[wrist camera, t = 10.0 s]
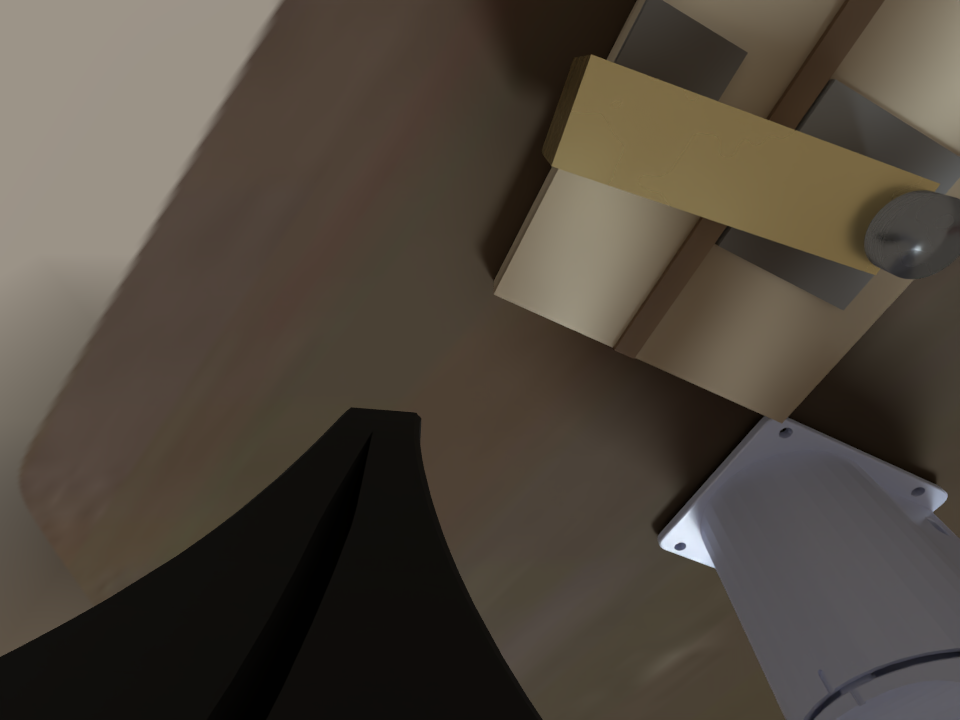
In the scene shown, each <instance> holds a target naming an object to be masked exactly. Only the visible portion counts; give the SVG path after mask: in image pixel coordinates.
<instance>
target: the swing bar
mask: <svg viewBox="0 0 960 720" xmlns="http://www.w3.org/2000/svg"><path fill="white" fill-rule="evenodd" d="M541 153H542V154H543V155H544V157H545V158H546V160H547V161H548V162H549V164H550V165H551V166H552V167H555V168H558V169H561V170H564V171H567V172H570V173H573V174H576V175H579V176H582V177H585V178H588V179H591V180H593V181H596V182H599V183H602V184H605V185H608V186H611V187H614V188H617V189H620V190H623V191H626V192H629V193H632V194H635V195H638V196H641V197H644V198H647V199H650V200H653V201H656V202H659V203H662V204H665V205H668V206H671V207H674V208H677V209H680V210H683V211H686V212H689V213H692V214H695V215H698V216H701V217H704V218H706V219H709V220H712V221H715V222H718V223H721V224H724V225H727V226H730V227H733V228H736V229H739V230H742V231H745V232H748V233H751V234H754V235H757V236H760V237H763V238H766V239H769V240H772V241H775V242H778V243H781V244H784V245H787V246H790V247H793V248H796V249H799V250H802V251H805V252H808V253H811V254H814V255H817V256H819V257H822V258H825V259H828V260H831V261H834V262H837V263H840V264H843V265H846V266H849V267H852V268H855V269H858V270H861V271H864V272H867V273H870V274H873V275H876V274H877V273H878V272H879V270H880V269H883V270H885V271H887V272H889V273H891V274H893V275H895V276H897V277H899V278H903V279H920V278H924V277H928V276H930V275H933V274H935V273H937V272H939V271H941V270H943V269H944V268H946V267H947V266H948V265H950V264H951V263H952V262H953V261H954V260H955V259H956V258H957V257H958V256H959V255H960V199H959V198H956V197H952V196H948V195H944V194H940V193H937V192H935V191H936V189H937V188H938V187H939V185H940V183H937V182H934V181H931V180H929V179H926V178H923V177H921V176H918V175H915V174H913V173H910V172H907V171H905V170H902V169H899V168H896V167H894V166H891V165H888V164H886V163H883V162H880V161H878V160H875V159H872V158H869V157H867V156H864V155H861V154H859V153H856V152H853V151H851V150H848V149H845V148H842V147H840V146H837V145H834V144H832V143H829V142H826V141H824V140H821V139H818V138H815V137H813V136H810V135H807V134H805V133H802V132H799V131H797V130H794V129H791V128H788V127H786V126H783V125H780V124H778V123H775V122H772V121H770V120H767V119H764V118H762V117H759V116H756V115H753V114H751V113H748V112H745V111H743V110H740V109H737V108H735V107H732V106H729V105H726V104H724V103H721V102H718V101H716V100H713V99H710V98H708V97H705V96H702V95H699V94H697V93H694V92H691V91H689V90H686V89H683V88H681V87H678V86H675V85H672V84H670V83H667V82H664V81H662V80H659V79H656V78H654V77H651V76H648V75H646V74H643V73H640V72H637V71H635V70H632V69H629V68H627V67H624V66H621V65H619V64H616V63H613V62H610V61H608V60H605V59H602V58H600V57H597V56H594V55H592V54H591V55H586V56H581V57H576V58H573V61H572V64H571V67H570V70H569V73H568V76H567V79H566V82H565V85H564V87H563V90H562V93H561V96H560V99H559V102H558V105H557V108H556V111H555V114H554V117H553V119H552V122H551V125H550V128H549V131H548V134H547V137H546V140H545V143H544V146H543V148H542V151H541Z"/></svg>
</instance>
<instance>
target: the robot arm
mask: <svg viewBox="0 0 960 720" xmlns="http://www.w3.org/2000/svg"><path fill="white" fill-rule="evenodd" d="M783 428H787V429H786V430H785V431H783V432H780V431H781V430H782V429H783ZM420 435H421V418H420V417H419V416H418V415H417V413H413V412H401V411H389V410H376V409H364V408H352V407H351V408H350V409H349V410H347V411H346V412H345V413H344V414H343V415H342V416H341V417H340V418H339V419H338V420H337V421H336V422H335V423H334V424H333V425H332V426H331V427H330V428H329V429H328V430H327V431H326V432H325V433H324V434H323V435H322V436H321V437H320V438H319V439H318V440H317V441H316V442H315V443H314V444H313V445H312V446H311V447H310V448H309V449H308V450H307V451H306V452H305V453H304V454H303V455H302V456H301V457H300V458H299V459H298V460H297V461H296V462H294V463H293V464H292V465H291V466H290V467H289V468H288V469H287V470H286V471H285V472H284V473H283V474H282V475H280V476H279V477H278V478H277V479H276V480H275V481H274V482H272V483H271V484H270V485H269V486H268V487H266V488H265V489H264V490H263V491H262V492H261V493H259V494H258V495H257V496H256V497H255V498H253V499H252V500H251V501H250V502H249V503H247V504H246V505H245V506H244V507H243V508H241V509H240V510H239V511H238V512H236V513H235V514H234V515H233V516H231V517H230V518H229V519H227V520H226V521H225V522H223V523H222V524H221V525H219V526H218V527H217V528H215V529H214V530H213V531H211V532H210V533H209V534H207V535H206V536H205V537H203V538H202V539H200V540H199V541H197V542H196V543H195V544H193V545H192V546H190V547H189V548H188V549H186V550H185V551H183V552H182V553H180V554H179V555H177V556H176V557H174V558H173V559H171V560H170V561H168V562H166V563H165V564H163V565H162V566H160V567H158V568H157V569H155V570H154V571H152V572H150V573H149V574H147V575H146V576H144V577H142V578H141V579H139V580H138V581H136V582H134V583H133V584H131V585H129V586H128V587H126V588H125V589H123V590H121V591H120V592H118V593H117V594H115V595H113V596H112V597H110V598H108V599H107V600H105V601H103V602H101V603H100V604H98V605H96V606H94V607H93V608H91V609H89V610H87V611H86V612H84V613H82V614H80V615H78V616H77V617H75V618H73V619H72V620H70V621H68V622H66V623H64V624H62V625H60V626H59V627H57V628H55V629H53V630H51V631H49V632H47V633H45V634H43V635H42V636H40V637H38V638H36V639H34V640H32V641H30V642H28V643H26V644H25V645H23V646H21V647H19V648H17V649H15V650H13V651H11V652H9V653H7V654H5V655H3V656H1V657H0V720H542V718H541V717H540V715H539V714H538V712H537V711H536V709H535V708H534V706H533V705H532V703H531V702H530V700H529V699H528V697H527V696H526V694H525V692H524V691H523V689H522V687H521V686H520V684H519V683H518V681H517V679H516V678H515V676H514V674H513V673H512V671H511V670H510V668H509V666H508V665H507V663H506V661H505V660H504V658H503V656H502V655H501V653H500V651H499V649H498V647H497V645H496V644H495V642H494V640H493V638H492V636H491V634H490V633H489V631H488V629H487V627H486V625H485V624H484V622H483V620H482V618H481V616H480V614H479V613H478V611H477V609H476V607H475V605H474V603H473V601H472V599H471V597H470V595H469V593H468V591H467V589H466V587H465V584H464V582H463V580H462V578H461V576H460V574H459V571H458V569H457V567H456V564H455V562H454V560H453V557H452V555H451V553H450V550H449V548H448V545H447V543H446V540H445V537H444V535H443V532H442V529H441V526H440V523H439V520H438V517H437V514H436V511H435V508H434V505H433V502H432V498H431V495H430V491H429V487H428V483H427V479H426V475H425V471H424V466H423V461H422V454H421V447H420ZM947 496H948V495H947V492H945V491H944V490H943V489H942V488H941V487H940V486H938V485H936V484H934V483H932V482H929V481H927V480H925V479H923V478H921V477H918V476H916V475H914V474H912V473H910V472H907V471H905V470H903V469H901V468H899V467H896V466H894V465H892V464H890V463H887V462H885V461H883V460H881V459H879V458H876V457H874V456H872V455H870V454H868V453H865V452H863V451H861V450H859V449H857V448H854V447H852V446H850V445H848V444H845V443H843V442H841V441H839V440H837V439H834V438H832V437H830V436H828V435H826V434H823V433H821V432H819V431H817V430H815V429H812V428H810V427H808V426H806V425H803V424H801V423H799V422H797V421H795V420H792V419H790V418H788V417H787V419H786V420H785V421H784V422H783V423H780V422H777V421H775V420H773V419H771V418H769V417H766V416H764V417H763V418H762V419H761V420H760V421H759V422H758V423H757V424H756V425H755V427H754V428H753V429H752V430H751V431H750V432H749V433H748V434H747V436H746V437H745V438H744V439H743V440H742V441H741V442H740V443H739V445H738V446H737V447H736V448H735V449H734V450H733V451H732V452H731V454H730V455H729V456H728V457H727V458H726V459H725V460H724V462H723V463H722V464H721V465H720V466H719V467H718V468H717V469H716V471H715V472H714V473H713V474H712V475H711V476H710V477H709V478H708V480H707V481H706V482H705V483H704V484H703V485H702V486H701V487H700V489H699V490H698V491H697V492H696V493H695V494H694V495H693V496H692V498H691V499H690V500H689V501H688V502H687V503H686V504H685V505H684V507H683V508H682V509H681V510H680V511H679V512H678V513H677V514H676V516H675V517H674V518H673V519H672V520H671V521H670V522H669V523H668V525H667V526H666V527H665V528H664V529H663V530H662V531H661V532H660V534H659V535H658V542H659V545H660V547H661V548H663V549H664V550H667V551H670V552H673V553H675V554H678V555H681V556H683V557H686V558H689V559H692V560H694V561H697V562H700V563H702V564H705V565H708V566H711V567H713V568H716V571H717V573H718V575H719V577H720V579H721V581H722V583H723V586H724V588H725V590H726V592H727V594H728V596H729V599H730V601H731V603H732V605H733V607H734V609H735V611H736V614H737V616H738V618H739V620H740V622H741V624H742V627H743V629H744V631H745V633H746V635H747V637H748V639H749V642H750V644H751V646H752V648H753V650H754V652H755V655H756V657H757V659H758V661H759V663H760V665H761V667H762V670H763V672H764V674H765V676H766V678H767V680H768V682H769V685H770V687H771V689H772V691H773V693H774V695H775V698H776V700H777V702H778V704H779V706H780V708H781V710H782V713H783V715H784V717H785V719H786V720H960V539H959V538H958V537H957V536H956V535H955V534H954V533H953V532H952V531H951V530H950V529H949V528H948V527H947V526H946V525H945V524H944V523H943V522H942V521H941V520H940V519H939V518H938V517H937V516H936V515H935V514H934V513H933V511H935V510H936V509H937V508H938V507H939V506H941V505H942V504H943V503H944V502H945V501H946V499H947ZM680 542H681V543H680ZM677 543H679V544H677Z"/></svg>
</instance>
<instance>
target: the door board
mask: <svg viewBox="0 0 960 720" xmlns="http://www.w3.org/2000/svg"><path fill="white" fill-rule="evenodd" d="M607 60H608V61H610V62H613V63H616V64H619V65H621V66H624V67H627V68H629V69H632V70H635V71H637V72H640V73H643V74H646V75H648V76H651V77H654V78H656V79H659V80H662V81H664V82H667V83H670V84H672V85H675V86H678V87H681V88H683V89H686V90H689V91H691V92H694V93H697V94H699V95H702V96H705V97H708V98H710V99H713V100H716V101H718V102H721V103H724V104H726V105H729V106H732V107H735V108H737V109H740V110H743V111H745V112H748V113H751V114H753V115H756V116H759V117H762V118H764V119H767V120H770V121H772V122H775V123H778V124H780V125H783V126H786V127H788V128H791V129H794V130H797V131H799V132H802V133H805V134H807V135H810V136H813V137H815V138H818V139H821V140H824V141H826V142H829V143H832V144H834V145H837V146H840V147H842V148H845V149H848V150H851V151H853V152H856V153H859V154H861V155H864V156H867V157H869V158H872V159H875V160H878V161H880V162H883V163H886V164H888V165H891V166H894V167H896V168H899V169H902V170H905V171H907V172H910V173H913V174H915V175H918V176H921V177H923V178H926V179H929V180H931V181H934V182H937V183H940V185H939V187H938V188H937V189H936V191H935V192H937V193H940V194H944V195H948V196H952V197H956V198H959V199H960V0H637V1H636V3H635V5H634V7H633V9H632V11H631V13H630V14H629V16H628V18H627V20H626V22H625V24H624V26H623V28H622V30H621V32H620V34H619V36H618V38H617V40H616V42H615V44H614V46H613V48H612V50H611V52H610V54H609V56H608V58H607ZM913 280H914V279H903V278H899V277H897V276H895V275H893V274H891V273H889V272H887V271H885V270H883V269H880V270H879V272H878V273H877V274H876V275H873V274H870V273H867V272H864V271H861V270H858V269H855V268H852V267H849V266H846V265H843V264H840V263H837V262H834V261H831V260H828V259H825V258H822V257H819V256H817V255H814V254H811V253H808V252H805V251H802V250H799V249H796V248H793V247H790V246H787V245H784V244H781V243H778V242H775V241H772V240H769V239H766V238H763V237H760V236H757V235H754V234H751V233H748V232H745V231H742V230H739V229H736V228H733V227H730V226H727V225H724V224H721V223H718V222H715V221H712V220H709V219H706V218H704V217H701V216H698V215H695V214H692V213H689V212H686V211H683V210H680V209H677V208H674V207H671V206H668V205H665V204H662V203H659V202H656V201H653V200H650V199H647V198H644V197H641V196H638V195H635V194H632V193H629V192H626V191H623V190H620V189H617V188H614V187H611V186H608V185H605V184H602V183H599V182H596V181H593V180H591V179H588V178H585V177H582V176H579V175H576V174H573V173H570V172H567V171H564V170H561V169H558V168H555V167H552V168H551V170H550V172H549V173H548V175H547V177H546V179H545V181H544V183H543V185H542V187H541V189H540V191H539V193H538V195H537V197H536V199H535V201H534V203H533V205H532V207H531V209H530V211H529V213H528V215H527V217H526V219H525V221H524V223H523V225H522V226H521V228H520V230H519V232H518V234H517V236H516V238H515V240H514V242H513V244H512V246H511V248H510V250H509V252H508V254H507V256H506V258H505V260H504V262H503V264H502V266H501V268H500V270H499V272H498V274H497V276H496V277H495V279H494V281H493V287H494V295H496V296H499V297H501V298H503V299H505V300H507V301H510V302H512V303H514V304H516V305H519V306H521V307H523V308H525V309H528V310H530V311H532V312H534V313H536V314H539V315H541V316H543V317H545V318H548V319H550V320H552V321H554V322H557V323H559V324H561V325H563V326H565V327H568V328H570V329H572V330H574V331H577V332H579V333H581V334H583V335H586V336H588V337H590V338H592V339H594V340H597V341H599V342H601V343H603V344H606V345H608V346H610V347H612V348H613V349H614V351H617V352H619V353H621V354H623V355H626V356H628V357H630V358H632V359H635V358H637V359H639V360H641V361H644V362H646V363H648V364H650V365H652V366H655V367H657V368H659V369H661V370H664V371H666V372H668V373H670V374H673V375H675V376H677V377H679V378H682V379H684V380H686V381H688V382H690V383H693V384H695V385H697V386H699V387H702V388H704V389H706V390H708V391H711V392H713V393H715V394H717V395H719V396H722V397H724V398H726V399H728V400H731V401H733V402H735V403H737V404H740V405H742V406H744V407H746V408H748V409H751V410H753V411H755V412H757V413H760V414H762V415H764V416H766V417H769V418H771V419H773V420H775V421H777V422H780V423H783V422H784V421H785V420H786V419H787V417H788V416H789V415H790V414H791V413H792V412H793V411H794V410H795V409H796V408H797V407H798V405H799V404H800V403H801V402H802V401H803V400H804V399H805V398H806V397H807V396H808V395H809V393H810V392H811V391H812V390H813V389H814V388H815V387H816V386H817V385H818V384H819V382H820V381H821V380H822V379H823V378H824V377H825V376H826V375H827V374H828V373H829V372H830V370H831V369H832V368H833V367H834V366H835V365H836V364H837V363H838V362H839V361H840V360H841V358H842V357H843V356H844V355H845V354H846V353H847V352H848V351H849V350H850V349H851V348H852V346H853V345H854V344H855V343H856V342H857V341H858V340H859V339H860V338H861V337H862V336H863V334H864V333H865V332H866V331H867V330H868V329H869V328H870V327H871V326H872V325H873V324H874V322H875V321H876V320H877V319H878V318H879V317H880V316H881V315H882V314H883V313H884V312H885V310H886V309H887V308H888V307H889V306H890V305H891V304H892V303H893V302H894V301H895V300H896V298H897V297H898V296H899V295H900V294H901V293H902V292H903V291H904V290H905V289H906V288H907V286H908V285H909V284H910V283H911V282H912V281H913Z"/></svg>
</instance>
